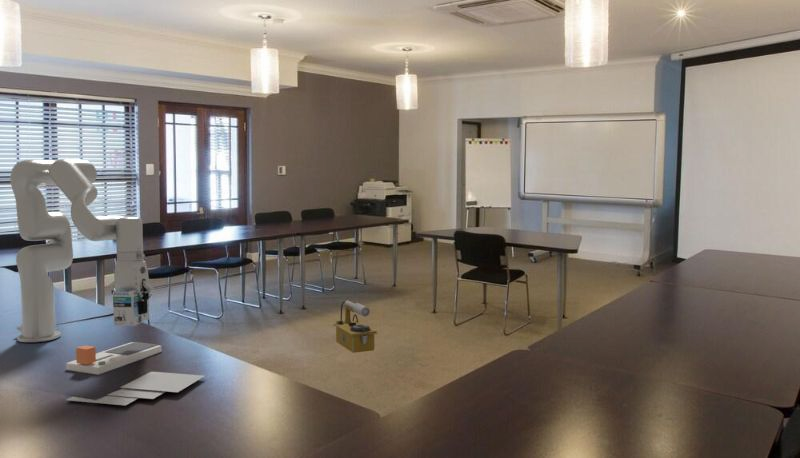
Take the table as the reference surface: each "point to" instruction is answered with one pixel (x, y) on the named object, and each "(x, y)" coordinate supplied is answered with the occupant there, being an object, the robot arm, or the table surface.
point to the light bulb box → (127, 308)
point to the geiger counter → (355, 329)
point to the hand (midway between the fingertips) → (131, 312)
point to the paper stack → (145, 388)
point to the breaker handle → (85, 355)
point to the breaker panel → (116, 357)
